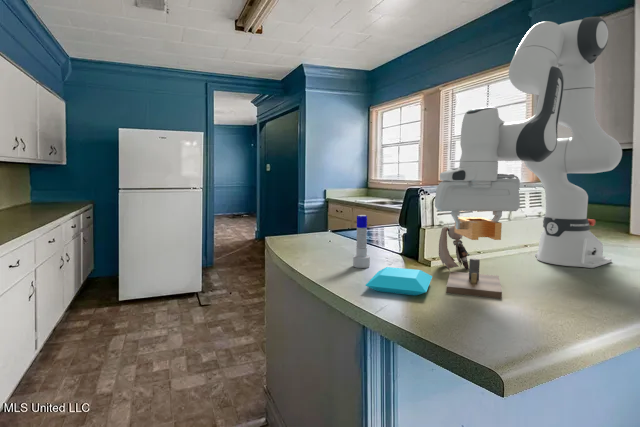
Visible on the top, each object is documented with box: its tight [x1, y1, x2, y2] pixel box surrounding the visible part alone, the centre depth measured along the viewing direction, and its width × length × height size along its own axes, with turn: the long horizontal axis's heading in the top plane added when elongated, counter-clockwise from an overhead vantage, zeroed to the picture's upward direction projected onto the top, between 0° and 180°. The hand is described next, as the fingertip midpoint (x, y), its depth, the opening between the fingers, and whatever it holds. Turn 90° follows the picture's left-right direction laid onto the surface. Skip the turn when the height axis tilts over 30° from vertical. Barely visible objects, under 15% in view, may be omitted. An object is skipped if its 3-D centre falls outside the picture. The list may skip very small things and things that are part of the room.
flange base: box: [445, 258, 503, 299], centre depth 97 cm, size 15×12×6 cm
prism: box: [364, 266, 433, 296], centre depth 96 cm, size 14×14×5 cm
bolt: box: [352, 214, 371, 269], centre depth 117 cm, size 16×5×5 cm
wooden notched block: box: [454, 216, 503, 241], centre depth 97 cm, size 12×7×4 cm, turn 0°
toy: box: [438, 222, 471, 271], centre depth 115 cm, size 9×8×15 cm
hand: (475, 229), depth 98 cm, fingers closed on wooden notched block, 7 cm apart
